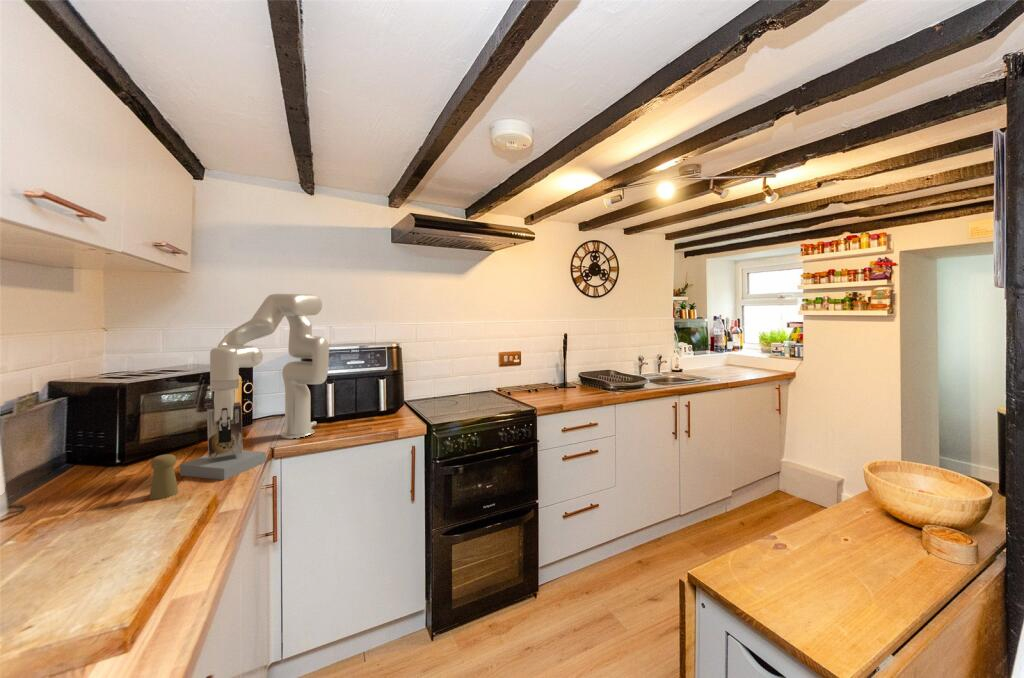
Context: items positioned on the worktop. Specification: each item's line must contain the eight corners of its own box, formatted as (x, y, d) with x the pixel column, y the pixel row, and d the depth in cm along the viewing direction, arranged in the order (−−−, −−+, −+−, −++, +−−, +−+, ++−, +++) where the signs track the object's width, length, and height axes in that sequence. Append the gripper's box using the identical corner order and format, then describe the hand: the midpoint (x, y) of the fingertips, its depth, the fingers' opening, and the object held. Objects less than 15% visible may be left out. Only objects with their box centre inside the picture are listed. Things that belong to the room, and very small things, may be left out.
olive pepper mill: (168, 498, 106) (168, 459, 106) (143, 500, 105) (142, 459, 105) (183, 489, 112) (183, 451, 112) (159, 490, 111) (159, 452, 111)
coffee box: (241, 448, 134) (240, 401, 133) (242, 453, 129) (242, 405, 128) (207, 453, 128) (206, 404, 127) (207, 459, 123) (207, 408, 122)
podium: (225, 458, 138) (225, 448, 138) (265, 462, 135) (265, 452, 135) (180, 475, 122) (180, 464, 122) (224, 480, 119) (224, 468, 119)
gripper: (211, 382, 132) (212, 434, 133) (208, 390, 118) (209, 448, 119) (238, 380, 137) (238, 431, 138) (239, 388, 123) (239, 444, 123)
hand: (225, 438), depth 128 cm, fingers closed on coffee box, 6 cm apart
